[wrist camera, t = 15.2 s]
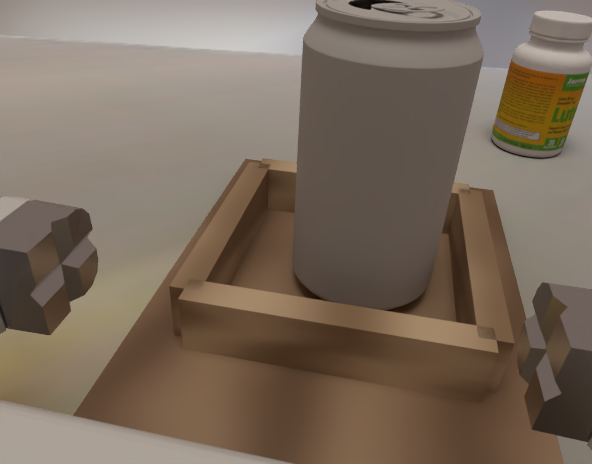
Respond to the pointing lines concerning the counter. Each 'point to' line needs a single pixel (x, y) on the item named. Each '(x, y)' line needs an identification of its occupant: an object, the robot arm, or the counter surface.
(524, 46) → the supplement bottle
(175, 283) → the tray
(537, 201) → the counter surface
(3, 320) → the robot arm
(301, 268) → the beverage can
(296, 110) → the counter surface
